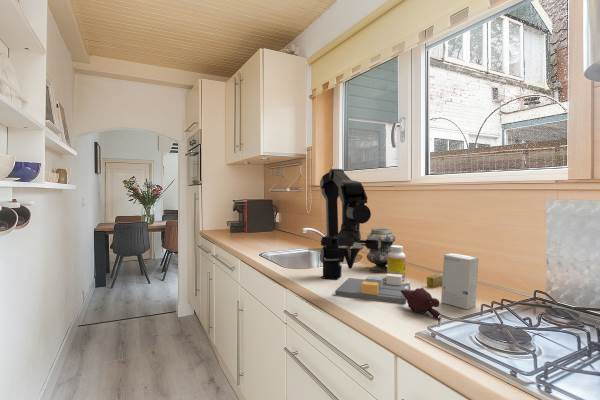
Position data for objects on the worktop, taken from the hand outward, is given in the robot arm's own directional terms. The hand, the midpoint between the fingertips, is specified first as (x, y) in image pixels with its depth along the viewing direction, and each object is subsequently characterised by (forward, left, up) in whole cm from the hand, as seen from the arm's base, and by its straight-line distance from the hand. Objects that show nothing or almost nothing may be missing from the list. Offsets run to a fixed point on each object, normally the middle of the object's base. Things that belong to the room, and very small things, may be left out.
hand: (350, 268), depth 111 cm
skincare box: (+33, +4, -9) cm, 34 cm away
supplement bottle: (+12, +27, -9) cm, 31 cm away
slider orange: (+7, 0, -7) cm, 10 cm away
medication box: (+27, +25, -9) cm, 38 cm away
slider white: (+12, +14, -7) cm, 20 cm away
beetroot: (+22, -8, -9) cm, 25 cm away
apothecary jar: (+4, +40, -9) cm, 41 cm away
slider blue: (+7, +7, -7) cm, 12 cm away
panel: (+7, +7, -9) cm, 13 cm away
